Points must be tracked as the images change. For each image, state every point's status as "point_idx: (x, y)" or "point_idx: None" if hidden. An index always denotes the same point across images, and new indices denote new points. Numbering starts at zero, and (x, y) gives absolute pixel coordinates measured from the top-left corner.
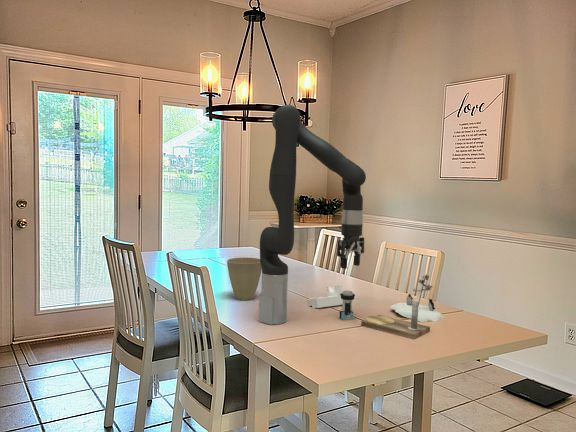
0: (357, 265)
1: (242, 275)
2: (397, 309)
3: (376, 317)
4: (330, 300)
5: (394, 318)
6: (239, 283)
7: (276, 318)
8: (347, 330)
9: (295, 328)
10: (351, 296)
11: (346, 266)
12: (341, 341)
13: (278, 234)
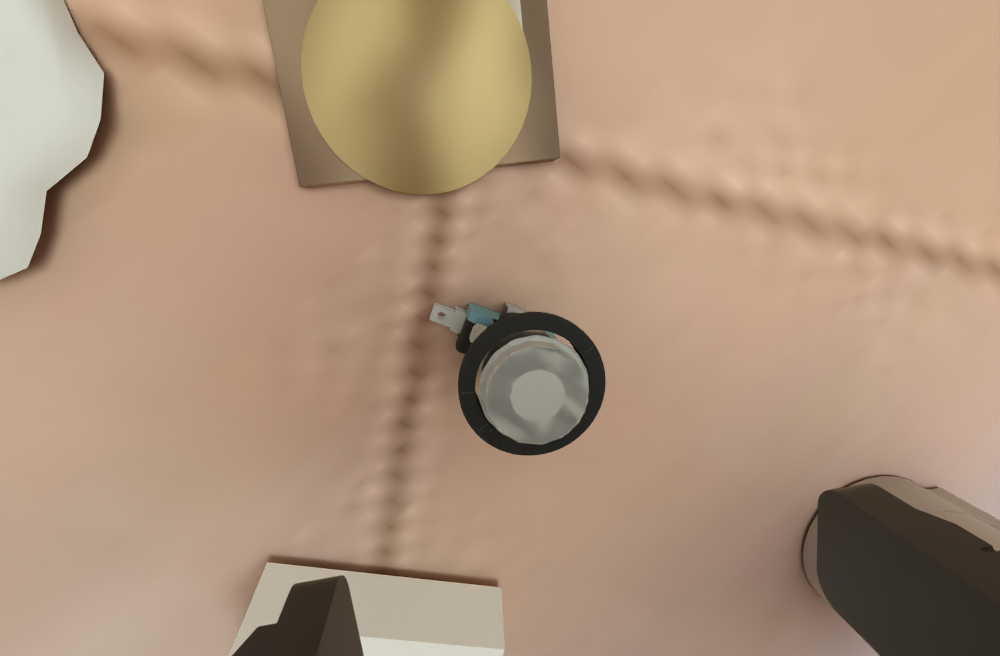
0: (348, 595)
1: None
2: (50, 146)
3: (389, 138)
4: (382, 611)
5: (269, 28)
6: None
7: (945, 500)
8: (706, 150)
9: (893, 373)
10: (557, 316)
11: (876, 503)
12: (909, 25)
13: None
